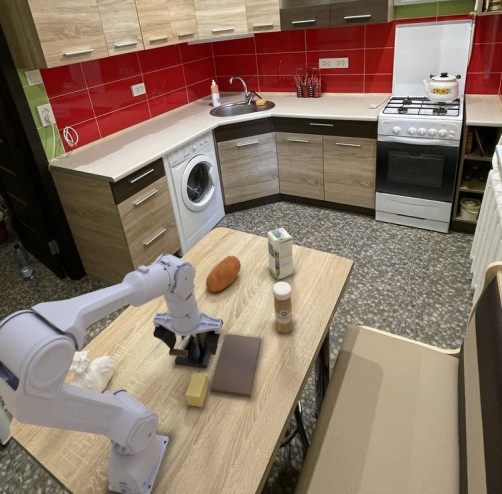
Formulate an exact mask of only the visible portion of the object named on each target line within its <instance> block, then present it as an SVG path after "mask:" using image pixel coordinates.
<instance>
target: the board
mask: <svg viewBox="0 0 502 494" xmlns="http://www.w3.org/2000/svg"><path fill="white" fill-rule="evenodd" d="M260 345H261V337H255V336H246V335H236V334H228V333H227V334H225V336H224V340H223V343H222V347H221V351H220V354H219V357H218V361H217V364H216V368H215V371H214V373H213V374H214V375H213V378H212V382H211V385H210V389H209V390H210V392H214V393H219V394H220V393H221V394H227V395H234V396H241V397H246V398H247V397H248V398H251V395H252V390H253V385H254V378H255V373H256V368H257V367H256V366H257V363H258V357H259V352H260V351H259V350H260Z"/></svg>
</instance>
